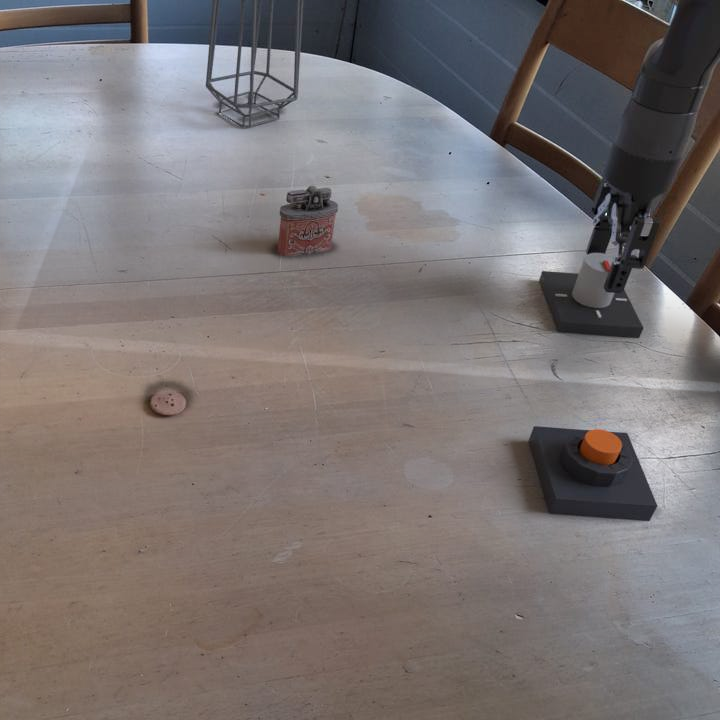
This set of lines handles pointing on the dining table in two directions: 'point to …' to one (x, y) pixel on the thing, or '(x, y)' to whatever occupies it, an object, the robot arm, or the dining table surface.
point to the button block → (589, 478)
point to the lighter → (307, 222)
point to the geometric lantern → (253, 65)
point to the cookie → (168, 403)
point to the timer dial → (593, 281)
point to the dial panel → (587, 310)
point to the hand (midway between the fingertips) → (603, 273)
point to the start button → (600, 447)
